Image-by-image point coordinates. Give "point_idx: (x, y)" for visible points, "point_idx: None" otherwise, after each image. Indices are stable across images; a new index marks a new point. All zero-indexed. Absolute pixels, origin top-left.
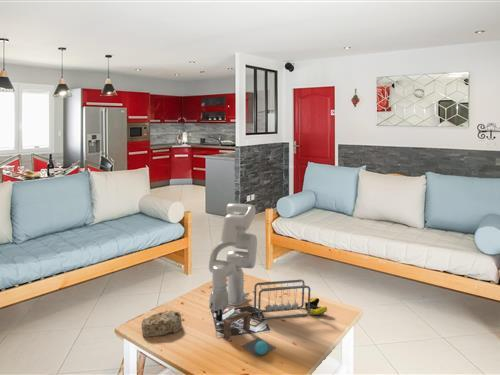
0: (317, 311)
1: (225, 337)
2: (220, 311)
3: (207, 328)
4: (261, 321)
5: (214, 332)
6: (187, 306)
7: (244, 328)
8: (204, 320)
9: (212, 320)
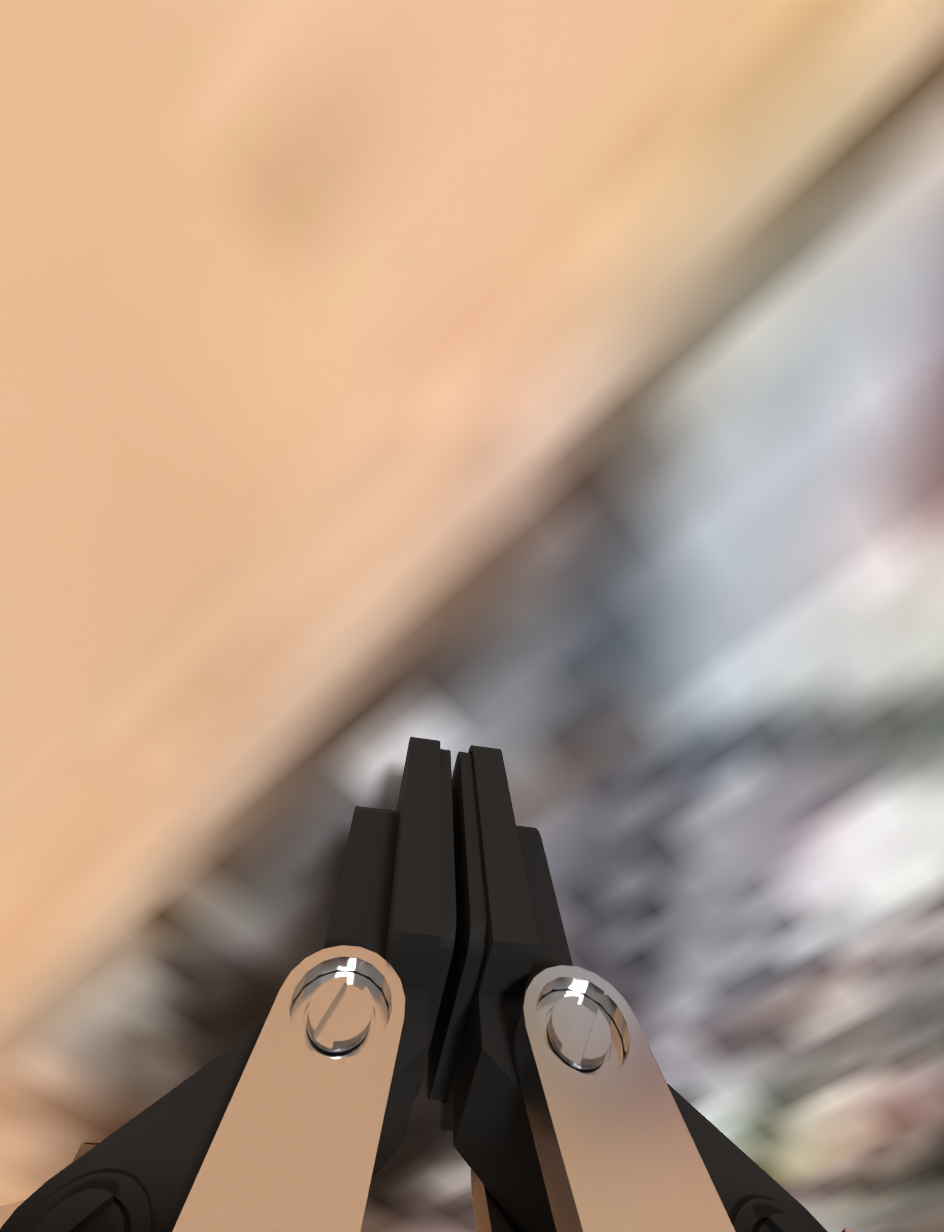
0: None
1: None
2: (518, 1164)
3: (24, 733)
4: (933, 1177)
5: (56, 946)
6: None
7: None
8: (255, 322)
9: (434, 534)
